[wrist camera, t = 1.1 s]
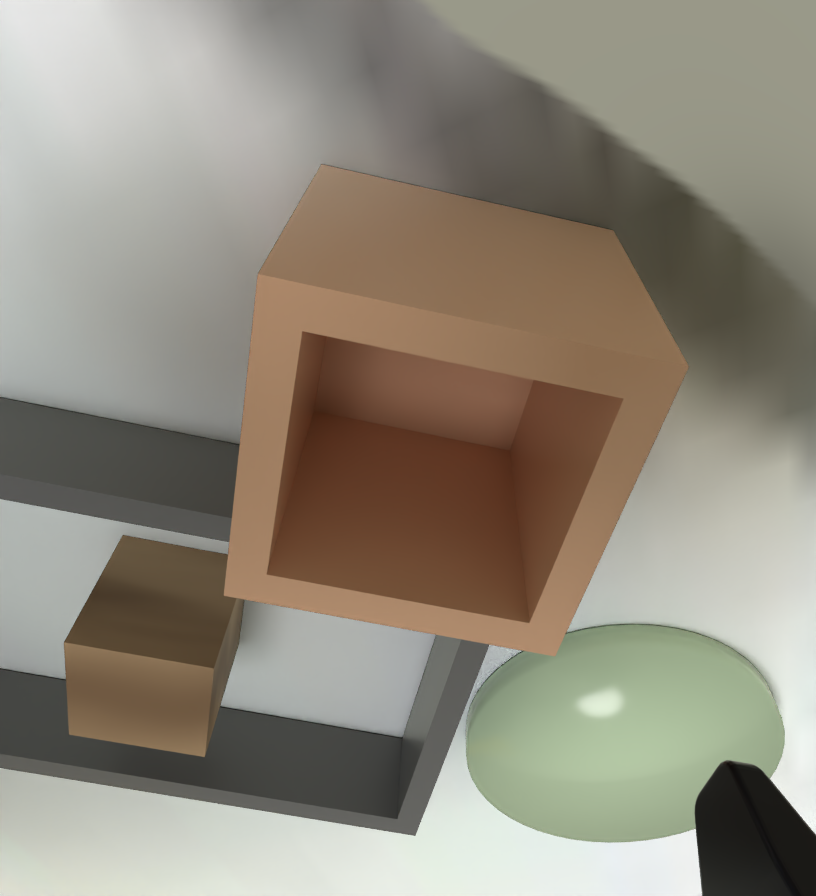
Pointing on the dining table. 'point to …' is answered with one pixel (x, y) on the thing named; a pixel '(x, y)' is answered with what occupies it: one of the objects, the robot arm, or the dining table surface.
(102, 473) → the gray rectangular frame
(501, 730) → the plate
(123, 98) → the dining table surface
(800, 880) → the robot arm
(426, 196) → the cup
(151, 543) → the walnut block
